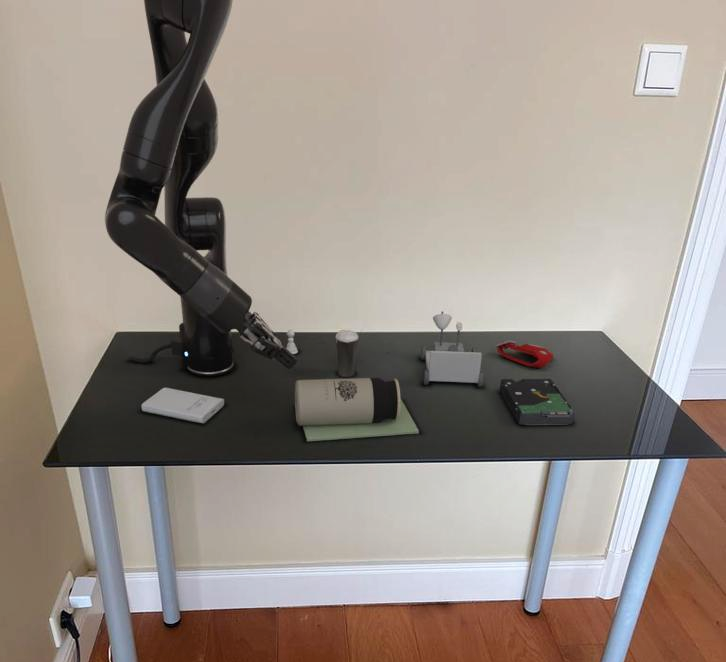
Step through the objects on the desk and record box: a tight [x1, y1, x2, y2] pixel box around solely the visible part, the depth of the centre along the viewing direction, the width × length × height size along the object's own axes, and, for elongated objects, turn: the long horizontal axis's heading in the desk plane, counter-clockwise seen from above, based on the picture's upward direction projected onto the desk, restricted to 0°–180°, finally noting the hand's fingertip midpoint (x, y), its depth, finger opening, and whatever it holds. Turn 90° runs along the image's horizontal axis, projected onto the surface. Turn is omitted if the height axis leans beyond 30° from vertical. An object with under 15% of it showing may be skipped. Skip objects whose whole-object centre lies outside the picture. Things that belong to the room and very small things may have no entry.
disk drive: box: [499, 378, 575, 426], centre depth 144 cm, size 10×3×15 cm
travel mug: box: [294, 377, 402, 427], centre depth 135 cm, size 8×8×18 cm
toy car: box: [420, 311, 485, 388], centre depth 156 cm, size 18×10×12 cm
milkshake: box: [335, 329, 363, 378], centre depth 153 cm, size 4×5×10 cm
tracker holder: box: [494, 339, 554, 369], centre depth 163 cm, size 12×4×10 cm
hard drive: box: [141, 387, 225, 424], centre depth 140 cm, size 2×8×12 cm
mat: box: [302, 399, 420, 442], centre depth 138 cm, size 20×13×1 cm, turn 102°
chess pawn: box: [285, 329, 299, 355], centre depth 162 cm, size 3×3×5 cm
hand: (293, 364), depth 130 cm, fingers closed
